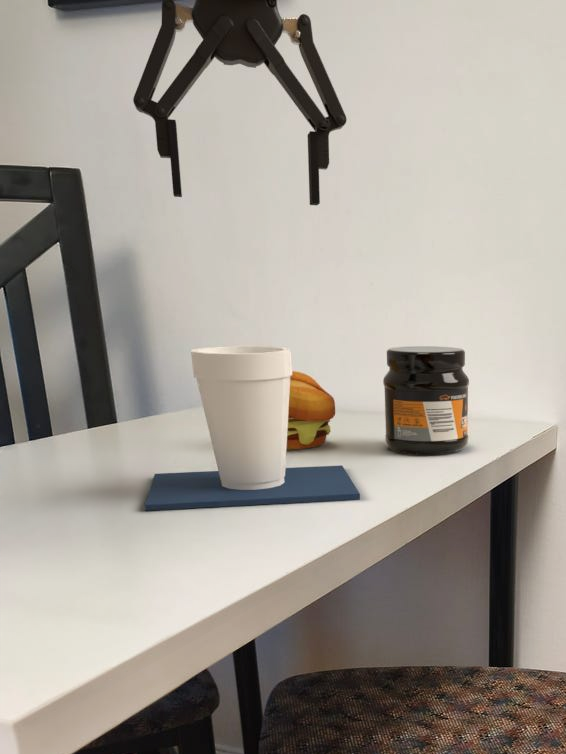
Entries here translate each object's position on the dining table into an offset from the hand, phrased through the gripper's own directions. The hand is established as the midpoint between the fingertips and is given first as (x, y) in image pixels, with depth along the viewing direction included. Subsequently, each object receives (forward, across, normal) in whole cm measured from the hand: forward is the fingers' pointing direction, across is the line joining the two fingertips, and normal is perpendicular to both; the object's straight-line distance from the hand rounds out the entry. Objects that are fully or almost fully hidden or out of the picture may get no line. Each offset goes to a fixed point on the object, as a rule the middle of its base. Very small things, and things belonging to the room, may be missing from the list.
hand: (247, 200), depth 91 cm
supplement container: (+27, +21, +7) cm, 35 cm away
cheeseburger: (+27, +5, +13) cm, 31 cm away
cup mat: (+28, -1, -11) cm, 30 cm away
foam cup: (+27, -1, -11) cm, 29 cm away
